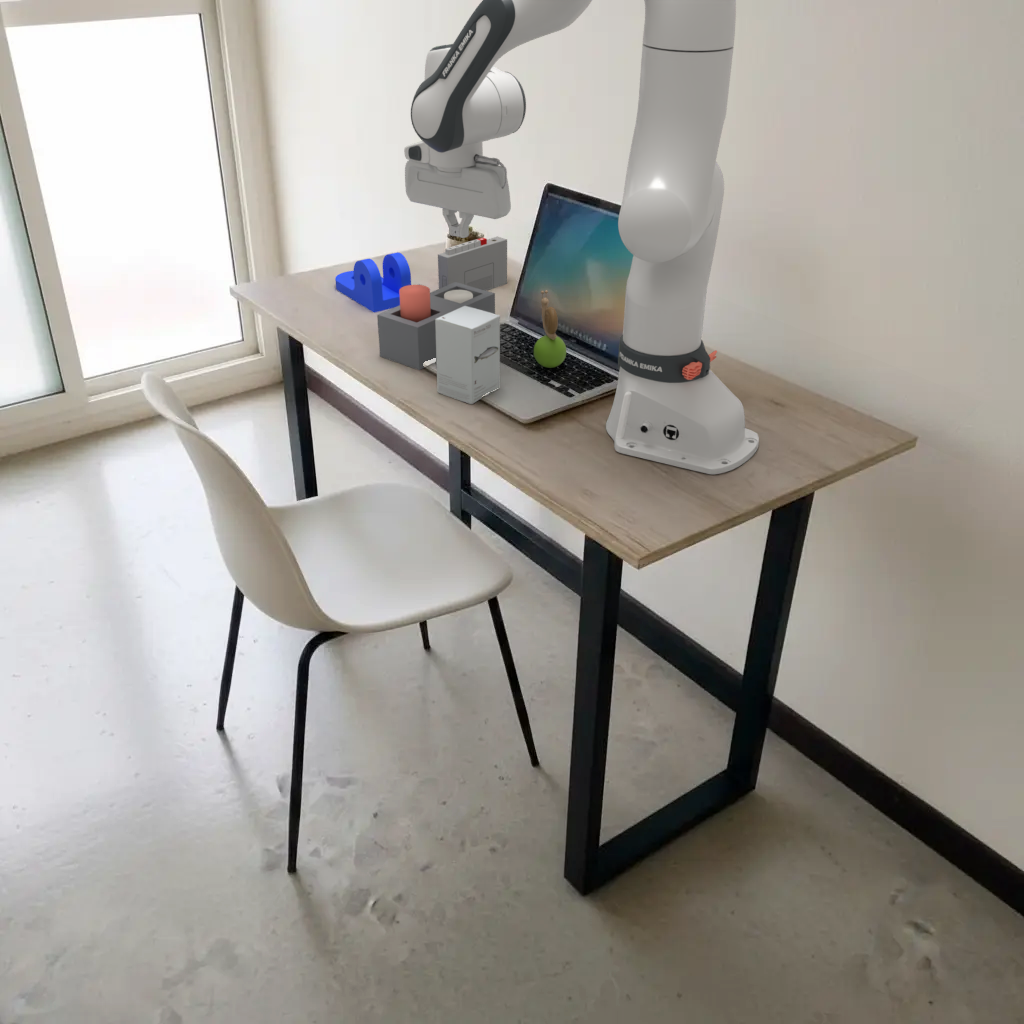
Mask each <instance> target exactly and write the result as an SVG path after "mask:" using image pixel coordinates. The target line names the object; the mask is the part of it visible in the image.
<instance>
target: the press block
mask: <svg viewBox="0 0 1024 1024" xmlns="http://www.w3.org/2000/svg"><path fill="white" fill-rule="evenodd" d="M451 290H466V291H470V292H471V293H472V294H473V298H472V299H470V300H467V301H465V302H463V303H457V302H454V301H450V300H447V299H444V294H445V293H446V292H448V291H451ZM495 301H496V293H495V292H492V291H490V290H487V291H485V290H482V289H478V288H475V287H471V286H468V285H464V284H461V283H457V282H455V283H452V284H450V285H447V286H445V287H442V288H440V289H439V288H438V289H435V290H433V291H430V308H431V317H428V318H426V319H424V320H422V321H419V322H413V321H410V320H407V319H404V318H401V312H400V305H399V306H397V307H394V308H391V309H387V310H384V311H383V312H382V311H381V312H380V313H378V314H376V317H377V331H378V345H379V348H378V350H379V357H381V358H383V359H386V360H390V361H392V362H395V363H398V364H399V365H400V364H401V365H403V366H406V367H410V368H412V369H415V370H417V371H420V370H423V369H425V368H424V366H423V363H424V362H425V361H428V360H431V359H433V358H436V327H435V319H436V318H439V317H441V316H443V315H445V314H448V313H450V312H452V311H454V310H456V309H459V308H461V307H463V306H468V307H471V308H475V309H479V310H483V311H486V312H490V313H493V314H496V302H495Z"/></svg>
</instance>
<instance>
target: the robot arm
mask: <svg viewBox="0 0 1024 1024" xmlns="http://www.w3.org/2000/svg"><path fill="white" fill-rule="evenodd" d="M592 1H593V0H481V2H480V3H479V4H478V6H476V8H475V10H474V11H473V12H472V14H470V16H469V18H468V20H467V21H466V23H465V25H464V26H463V27H462V29H461V31H460V32H459V34H458V35H457V37H456V38H455V40H454V42H453V43H451V44H443V45H437V46H435V47H432V48H431V49H430V50H429V51H428V52H427V55H426V59H425V65H424V66H425V67H424V80H423V81H422V82H421V83H420V84H419V86H418V88H417V90H416V91H415V93H414V96H413V99H412V102H411V107H410V119H411V120H410V121H411V125H412V128H413V130H414V132H415V133H416V135H417V136H418V138H419V139H421V141H418V142H414V143H412V144H409V145H407V146H405V147H404V157H405V159H406V160H407V161H406V163H405V165H404V185H405V193H406V197H408V200H409V201H410V202H412V203H415V204H421V205H425V206H431V207H435V208H440V209H442V216H443V218H444V220H445V222H446V223H447V226H448V234H449V236H453V237H457V238H462V239H465V238H468V237H469V235H470V234H469V233H470V231H469V229H470V227H469V226H470V225H471V223H472V221H473V218H474V216H478V217H482V218H488V219H492V220H498V219H502V218H503V217H504V218H505V217H506V216H507V215H509V213H510V212H511V207H512V205H511V193H510V186H509V180H508V170H507V167H506V166H505V165H504V164H503V163H502V162H501V161H500V159H498V158H497V157H488V156H485V155H484V154H483V142H486V141H490V140H495V139H500V138H504V137H507V136H509V135H512V134H515V133H516V132H517V131H518V130H519V129H520V128H521V126H522V124H523V122H524V121H525V117H526V112H527V99H526V94H525V91H524V88H523V86H522V83H520V81H519V80H518V78H517V77H516V76H514V74H512V73H511V72H508V71H503V70H501V69H499V67H496V66H494V65H495V64H496V63H497V61H498V60H499V59H501V58H502V57H503V56H505V55H506V54H508V52H510V51H512V50H514V49H515V48H517V47H519V46H522V45H524V44H526V43H528V42H530V41H534V40H537V39H539V38H541V37H542V38H543V37H545V36H548V35H551V34H553V33H556V32H559V31H562V30H564V29H566V28H568V27H570V25H572V24H573V23H574V22H575V21H576V20H577V19H579V17H580V16H581V15H582V14H583V13H584V12H585V11H586V10H587V8H588V7H589V6H590V4H591V3H592ZM736 6H737V0H644V24H643V35H642V46H641V47H642V49H641V60H640V77H639V89H638V102H637V113H636V119H635V126H634V130H633V135H632V139H631V145H630V151H629V156H628V161H627V166H626V174H625V181H624V187H623V194H622V195H623V196H622V202H621V205H620V209H619V214H618V221H617V226H618V227H617V228H618V234H619V237H620V239H621V242H622V243H623V245H624V246H625V248H626V249H627V251H628V252H629V253H631V254H632V255H633V256H632V260H631V265H630V271H629V274H628V276H627V280H626V286H625V299H624V313H623V314H624V315H623V316H624V317H623V318H624V319H623V326H622V327H623V329H622V330H623V331H622V334H621V336H620V337H619V338H620V339H619V342H618V343H619V344H618V354H617V355H618V357H617V365H618V366H617V367H618V371H619V372H618V378H617V379H618V380H617V386H616V391H615V395H614V400H613V402H612V406H611V410H610V413H609V416H608V417H607V419H606V420H607V421H606V423H605V430H606V432H607V434H608V436H610V437H611V439H612V440H613V445H614V450H615V451H616V452H618V453H620V454H623V455H627V456H631V457H637V458H641V459H644V460H648V461H653V462H657V463H662V464H666V465H669V466H674V467H677V468H682V469H686V470H691V471H694V472H698V473H702V474H703V473H704V474H707V475H718V474H724V473H727V472H730V471H733V470H734V469H737V468H738V467H740V466H741V465H743V464H744V463H746V462H748V461H749V460H750V459H751V458H752V457H753V456H754V455H755V454H756V452H757V451H758V449H759V444H760V438H759V433H757V432H755V431H754V430H751V429H749V428H746V417H745V416H746V414H745V409H744V408H745V407H744V405H743V403H742V402H741V400H740V399H739V398H738V397H737V396H736V394H734V393H733V392H732V391H731V390H730V389H729V388H728V387H727V386H726V384H724V383H723V381H721V379H720V378H719V377H718V376H717V375H716V374H715V373H714V372H713V371H712V370H711V362H713V361H714V360H715V359H716V358H717V355H716V354H717V353H718V351H717V350H713V351H712V352H710V354H708V351H707V350H706V347H705V344H704V341H703V339H702V337H703V327H704V318H705V311H706V301H707V300H706V299H707V292H708V286H709V282H710V281H709V280H710V277H711V276H710V275H711V270H712V265H713V260H714V254H715V249H716V246H717V245H716V244H717V239H718V233H719V227H720V222H721V215H722V209H723V208H722V207H723V201H724V194H725V181H724V176H723V175H724V174H723V171H722V169H721V166H720V164H718V162H717V157H718V152H719V148H720V141H721V138H722V137H721V136H722V132H723V127H724V123H725V120H726V118H727V117H726V115H727V109H728V102H729V101H728V99H729V91H730V90H729V89H730V81H731V72H732V65H733V64H732V63H733V54H734V46H735V45H734V44H735V36H736V21H737V19H736V17H737V14H736V13H737V10H736V9H737V7H736ZM456 213H458V215H459V219H461V221H460V223H459V221H458V218H457V216H456Z"/></svg>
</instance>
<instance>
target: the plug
mask: <svg viewBox="0 0 1024 1024" xmlns="http://www.w3.org/2000/svg"><path fill="white" fill-rule="evenodd" d="M472 298H473V294H472V293H471V292H470V291H466V290H451V291H448V292H446V293H445V294H444V299H447V300H450V301H454V302H457V303H463V302H465V301H467V300H470V299H472Z"/></svg>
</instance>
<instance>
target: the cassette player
mask: <svg viewBox="0 0 1024 1024" xmlns="http://www.w3.org/2000/svg"><path fill="white" fill-rule="evenodd" d="M437 268H438V269H437V271H438V273H437V274H438V289H440V288H442V287H445V286H447V285H450V284H452V283H455V282H457V283H461V284H464V285H468V286H471V287H475V288H478V289H482V290H485V291H490V290H492V289H496V288H498V287H499V288H500V287H501V286H505V285H507V284H508V239H506V238H504V237H501V236H499V235H498V236H494V237H491V238H485V237H480V238H476V239H473V240H470V241H465V242H463V243H459V244H456V245H453V246H450V247H447V248H445V250H444V252H441V253H439V254H437Z"/></svg>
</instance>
